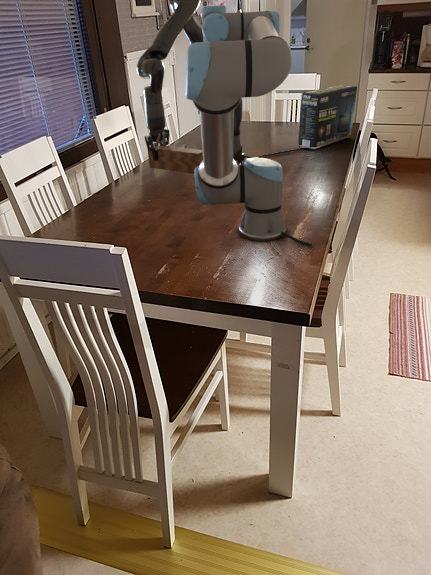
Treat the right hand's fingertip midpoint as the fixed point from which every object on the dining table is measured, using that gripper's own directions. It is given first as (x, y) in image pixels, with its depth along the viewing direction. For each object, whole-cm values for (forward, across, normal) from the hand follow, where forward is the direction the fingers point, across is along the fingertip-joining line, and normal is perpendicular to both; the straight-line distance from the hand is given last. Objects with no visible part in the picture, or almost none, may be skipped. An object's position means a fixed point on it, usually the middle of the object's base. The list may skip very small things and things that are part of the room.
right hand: (218, 131), depth 156 cm
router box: (+27, -104, +5) cm, 108 cm away
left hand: (+16, -10, -34) cm, 39 cm away
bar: (+19, -10, -26) cm, 34 cm away
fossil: (+27, -49, -52) cm, 77 cm away
